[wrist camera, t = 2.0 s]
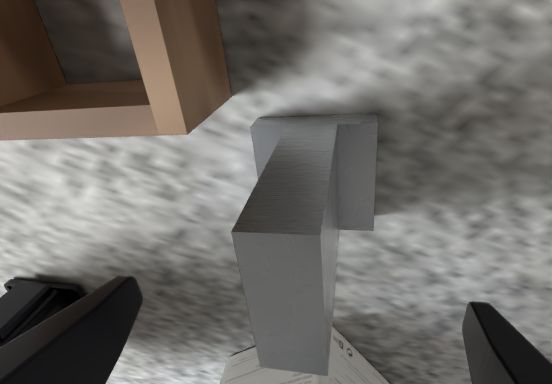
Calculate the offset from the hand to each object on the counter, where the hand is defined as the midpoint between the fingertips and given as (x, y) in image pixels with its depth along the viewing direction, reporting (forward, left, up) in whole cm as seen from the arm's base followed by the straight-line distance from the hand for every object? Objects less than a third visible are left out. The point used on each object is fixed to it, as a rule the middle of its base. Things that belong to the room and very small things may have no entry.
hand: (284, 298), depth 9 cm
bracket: (0, 0, -8) cm, 8 cm away
